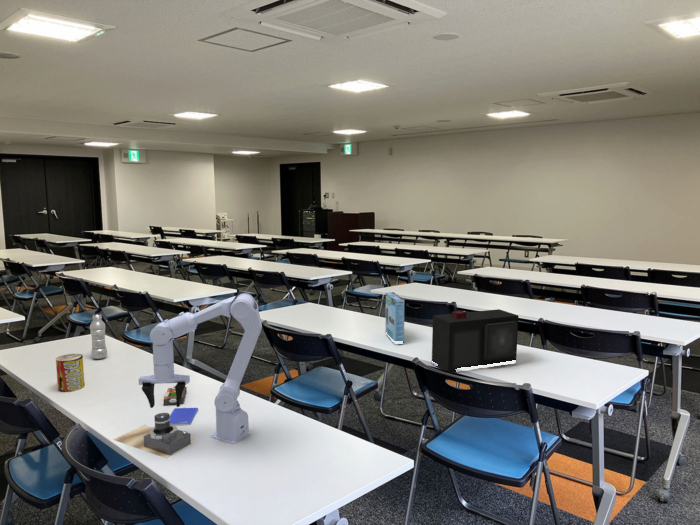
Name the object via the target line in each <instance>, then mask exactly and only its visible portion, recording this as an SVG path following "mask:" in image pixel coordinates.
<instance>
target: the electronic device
mask: <svg viewBox="0 0 700 525" xmlns="http://www.w3.org/2000/svg"><path fill="white" fill-rule="evenodd" d="M175 386H176V385H172V386H171V387H168V389H167V391H166V392H165V394H164V396H163V406H168V405H169V406H170V405H171V404H175V405H176V390H175ZM187 388H188V387H187V386H185V388H184V390H183V393H182V397H181V404H180V405H182V404H184V402H185V399H186V395H187V392H188V391H187Z"/></svg>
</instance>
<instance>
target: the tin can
mask: <svg viewBox="0 0 700 525" xmlns="http://www.w3.org/2000/svg"><path fill="white" fill-rule="evenodd" d="M83 359H84V355H83V354H81V353H68V354H67V353H66V354H63V355H59V356H57V357H56V358H55V365H56V368H55V369H56V381H57V382H56V383H57V391H58V392H60V393H71V392H76V391H80V390H82V389H83V388H85V374H84V373H85V372H84V370H85V369H84V360H83Z"/></svg>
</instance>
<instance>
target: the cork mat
mask: <svg viewBox="0 0 700 525" xmlns="http://www.w3.org/2000/svg"><path fill="white" fill-rule="evenodd" d="M152 428H153V426H150V425H147V424H143V425H141V426H139V427H136V428H134V429H133V430H131V431H128V432H126V433H123V434H122V435H120V436H118V437H116V438H114V439H112V440H113V441H116V442H119V443H121V444H125V445H127V446H130V447H133V448H137V449H138V450H142V451H145V452H147V453H150V454H152V455H156V456H159V457H163V458H165V459H167V458H169V457H171V456H172V455H173V456H174V454H176V453H178V452H180V451H181V450H183V449H185V448H187V447H188V446H191V445H192V444H194V443H195V442H197V440H194V439H191V444H189V445H187V446H186V447H184V448H182V449H180V450H179V451H177V452H175V453H173V454H171V455H167V454H164V453H161V452H158V451H155V450H152V449H149V448H147V447H144V436H145V435H147V434H149V431H150V430H151V429H152Z"/></svg>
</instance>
